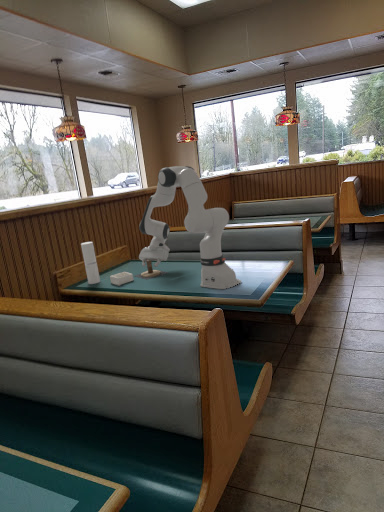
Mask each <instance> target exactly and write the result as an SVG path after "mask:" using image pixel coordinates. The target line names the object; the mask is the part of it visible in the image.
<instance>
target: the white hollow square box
mask: <svg viewBox="0 0 384 512" xmlns="http://www.w3.org/2000/svg"><path fill="white" fill-rule="evenodd" d="M109 279H110V283H111V284H112V285H115V286H122V285H124V284H127V283H130V282H133V281H134V275H133V273H130V272H127V271H123V272H118V273H115V274H112V275H110V276H109Z"/></svg>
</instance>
